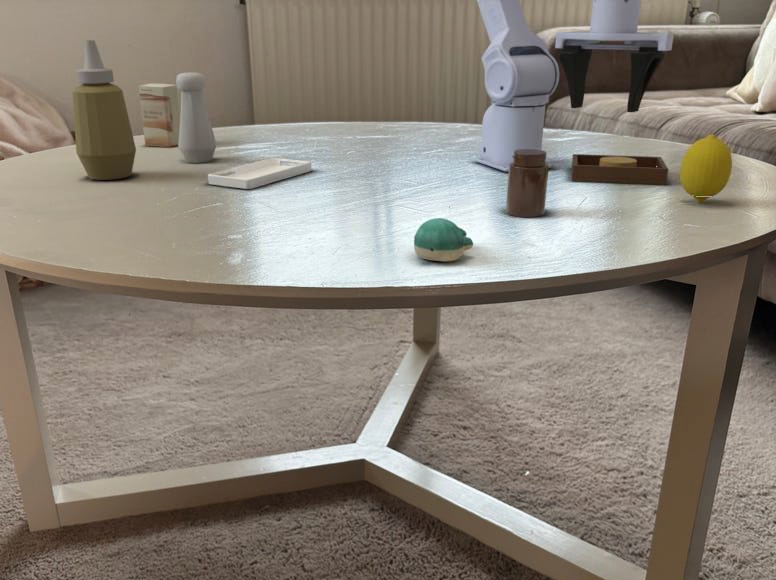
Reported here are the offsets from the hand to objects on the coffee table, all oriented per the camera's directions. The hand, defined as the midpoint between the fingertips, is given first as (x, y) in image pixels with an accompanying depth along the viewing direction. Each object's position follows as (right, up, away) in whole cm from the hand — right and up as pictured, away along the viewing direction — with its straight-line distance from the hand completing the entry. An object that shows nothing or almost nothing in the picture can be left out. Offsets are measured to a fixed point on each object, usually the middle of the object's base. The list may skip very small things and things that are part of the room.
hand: (604, 109), depth 99 cm
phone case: (-46, -7, +8) cm, 47 cm away
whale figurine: (-24, -23, -26) cm, 42 cm away
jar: (-13, -16, -11) cm, 23 cm away
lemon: (+9, -14, -7) cm, 18 cm away
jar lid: (+4, -5, +7) cm, 9 cm away
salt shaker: (-58, -1, +21) cm, 61 cm away
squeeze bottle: (-68, -7, +9) cm, 69 cm away
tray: (+4, -7, +7) cm, 11 cm away
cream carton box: (-67, +5, +35) cm, 76 cm away
